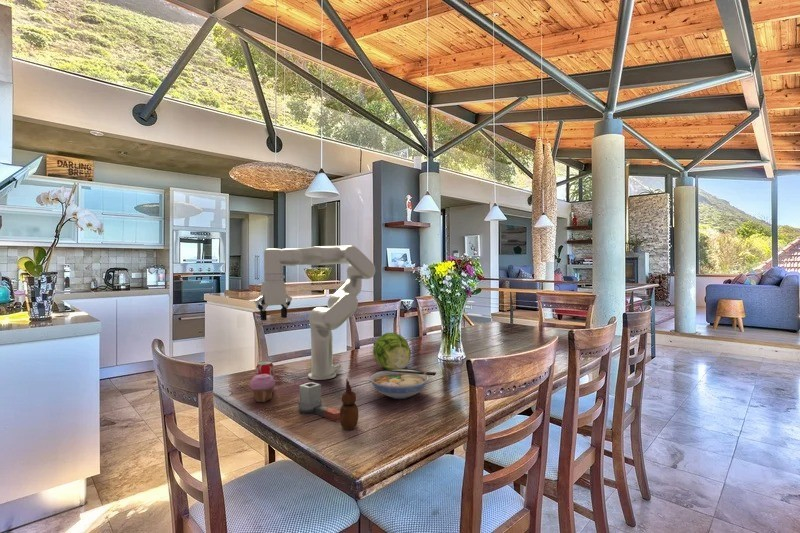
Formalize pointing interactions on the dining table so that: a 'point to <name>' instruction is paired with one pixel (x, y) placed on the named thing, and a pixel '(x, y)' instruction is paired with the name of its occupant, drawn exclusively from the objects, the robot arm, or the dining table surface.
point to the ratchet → (320, 411)
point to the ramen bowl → (400, 382)
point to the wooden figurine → (348, 409)
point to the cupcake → (262, 387)
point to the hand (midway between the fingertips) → (274, 318)
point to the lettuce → (392, 351)
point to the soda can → (265, 368)
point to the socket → (310, 393)
